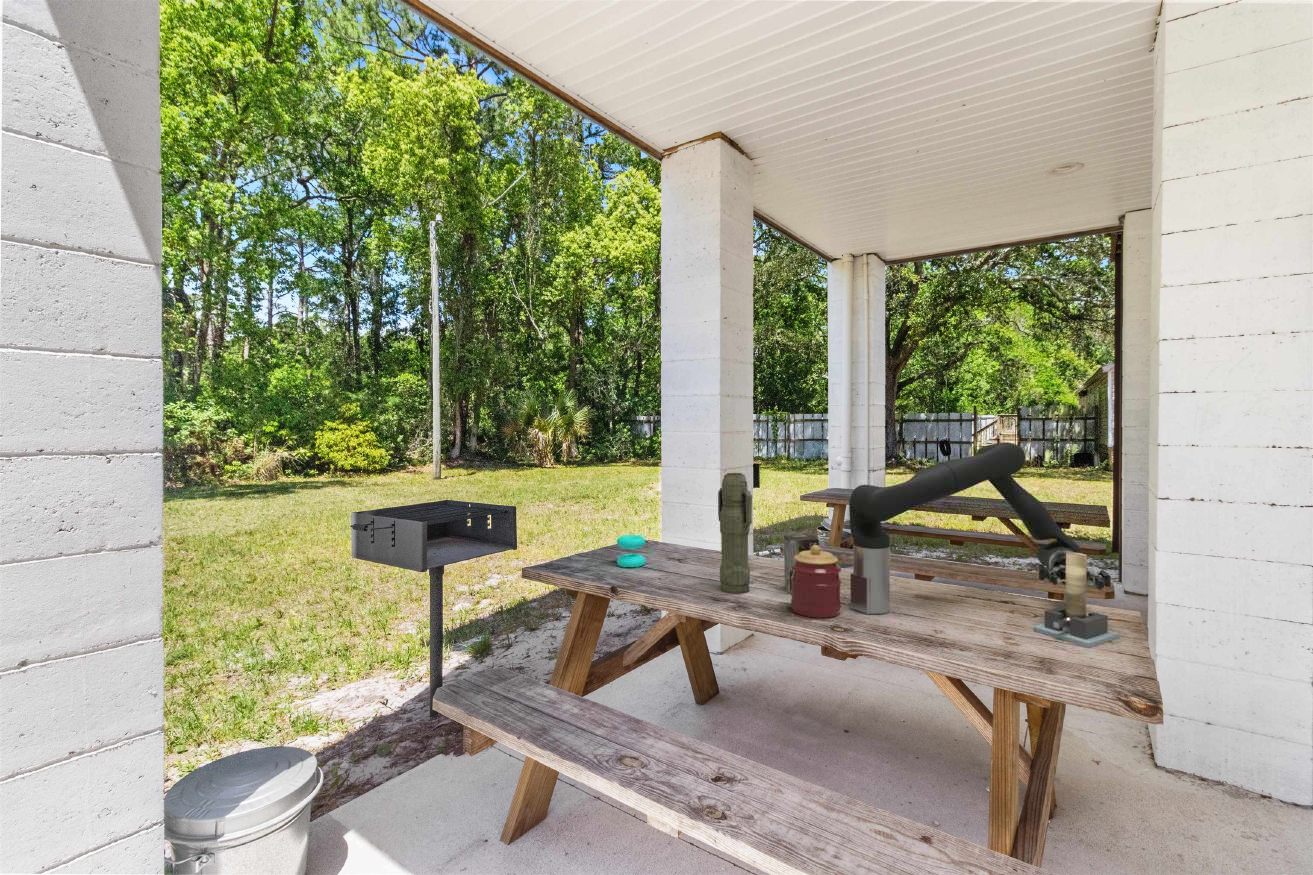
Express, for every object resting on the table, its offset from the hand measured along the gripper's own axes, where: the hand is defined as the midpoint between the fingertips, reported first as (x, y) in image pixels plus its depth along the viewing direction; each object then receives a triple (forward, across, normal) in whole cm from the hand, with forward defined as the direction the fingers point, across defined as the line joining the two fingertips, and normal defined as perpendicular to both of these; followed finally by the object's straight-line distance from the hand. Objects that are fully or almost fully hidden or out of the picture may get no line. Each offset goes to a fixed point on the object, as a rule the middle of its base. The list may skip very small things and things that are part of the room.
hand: (1077, 582), depth 138 cm
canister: (+9, -58, +13) cm, 61 cm away
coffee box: (-7, -66, +13) cm, 68 cm away
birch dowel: (-1, 0, +12) cm, 12 cm away
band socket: (-1, 0, +12) cm, 13 cm away
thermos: (+1, -84, +13) cm, 85 cm away
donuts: (-11, -128, +13) cm, 129 cm away
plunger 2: (-5, +3, +10) cm, 12 cm away
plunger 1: (+3, -3, +10) cm, 11 cm away
